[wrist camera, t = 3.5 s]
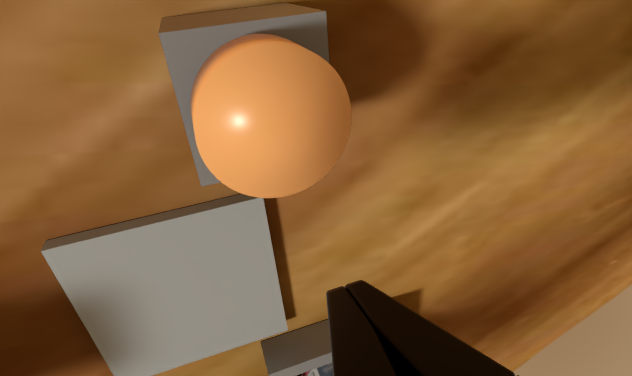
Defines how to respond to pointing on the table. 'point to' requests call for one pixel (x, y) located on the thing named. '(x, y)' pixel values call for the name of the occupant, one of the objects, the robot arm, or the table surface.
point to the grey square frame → (298, 350)
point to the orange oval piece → (269, 115)
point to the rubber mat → (173, 284)
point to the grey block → (221, 27)
